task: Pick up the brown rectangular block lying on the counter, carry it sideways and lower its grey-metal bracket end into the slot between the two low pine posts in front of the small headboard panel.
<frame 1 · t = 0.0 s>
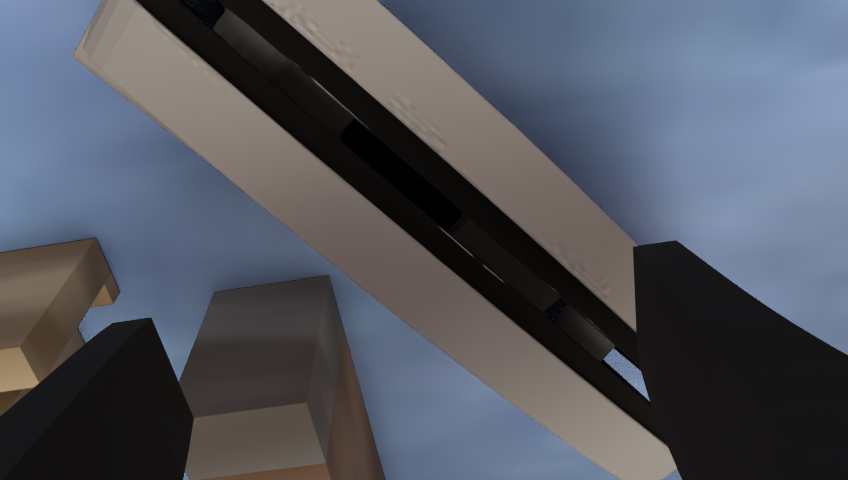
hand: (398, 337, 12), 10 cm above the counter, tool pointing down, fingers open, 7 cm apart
brown rectangular block: (332, 473, 27), on the counter
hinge: (417, 147, 22), on the counter
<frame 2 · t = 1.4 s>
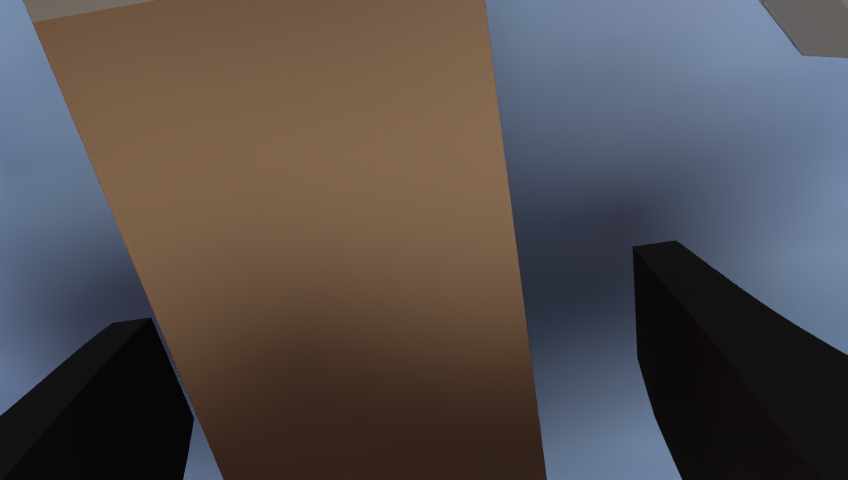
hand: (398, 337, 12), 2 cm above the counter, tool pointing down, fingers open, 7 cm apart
brown rectangular block: (404, 262, 14), on the counter
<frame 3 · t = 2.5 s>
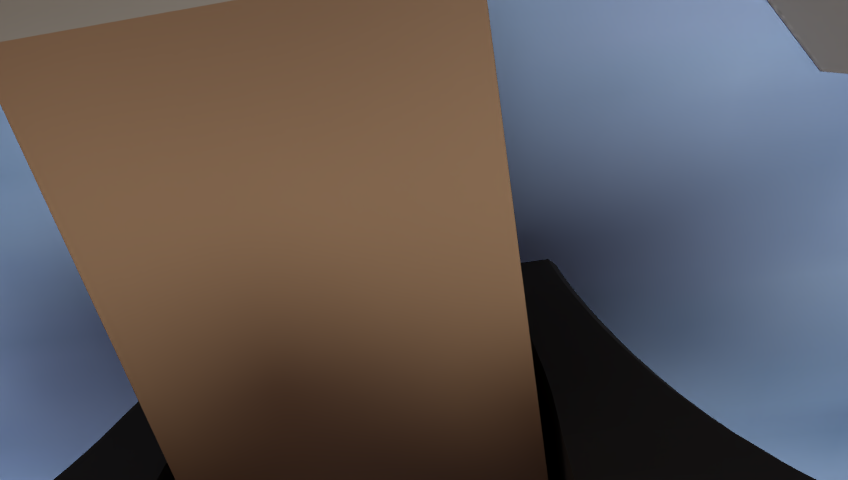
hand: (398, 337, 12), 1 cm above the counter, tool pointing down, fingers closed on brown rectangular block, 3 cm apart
brown rectangular block: (400, 284, 13), on the counter, touching gripper
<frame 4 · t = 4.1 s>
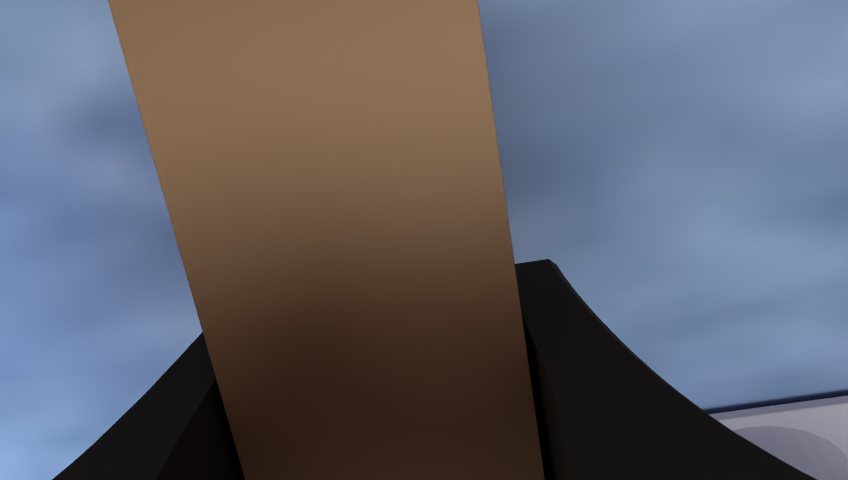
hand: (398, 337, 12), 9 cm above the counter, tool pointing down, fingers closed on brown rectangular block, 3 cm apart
brown rectangular block: (405, 259, 14), point 6 cm above the counter, tilted 11°, touching gripper
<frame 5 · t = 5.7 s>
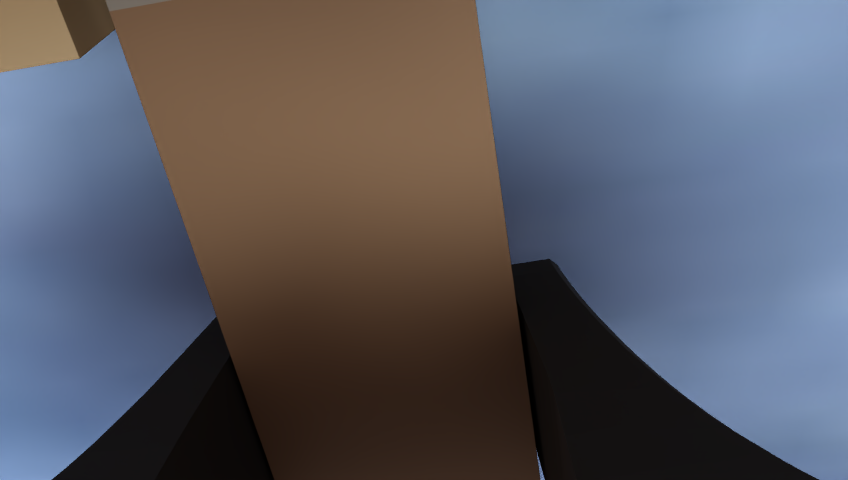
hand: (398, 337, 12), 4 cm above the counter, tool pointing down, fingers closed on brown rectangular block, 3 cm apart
brown rectangular block: (407, 247, 15), on the counter, touching gripper
when the fingers open (3 cm above the counter, at t = 6.6 s): brown rectangular block stays where it is, on the counter.
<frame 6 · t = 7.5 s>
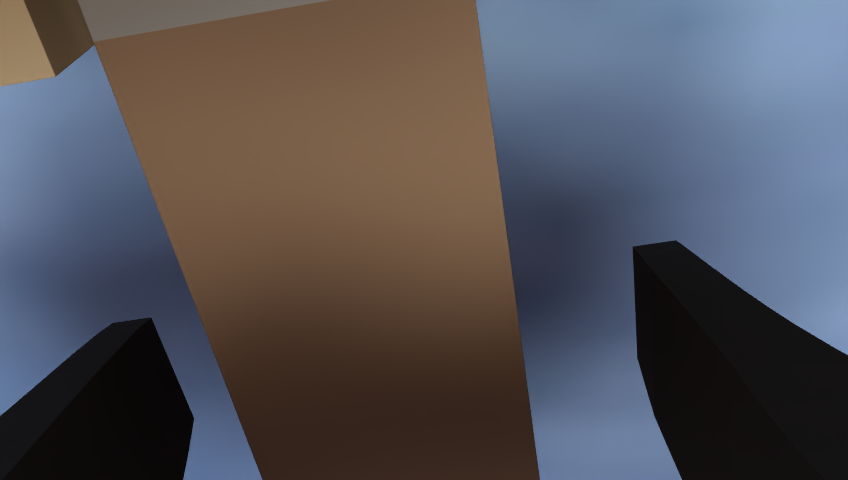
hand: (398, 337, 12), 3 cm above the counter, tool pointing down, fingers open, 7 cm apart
brown rectangular block: (406, 253, 15), on the counter
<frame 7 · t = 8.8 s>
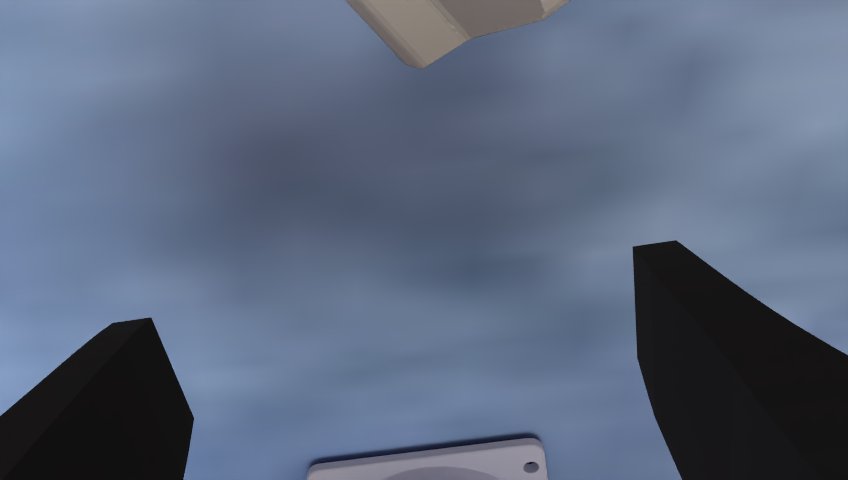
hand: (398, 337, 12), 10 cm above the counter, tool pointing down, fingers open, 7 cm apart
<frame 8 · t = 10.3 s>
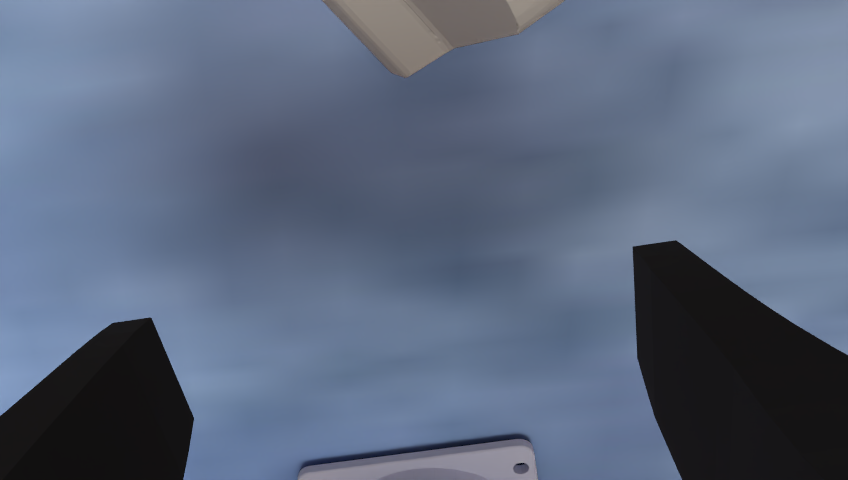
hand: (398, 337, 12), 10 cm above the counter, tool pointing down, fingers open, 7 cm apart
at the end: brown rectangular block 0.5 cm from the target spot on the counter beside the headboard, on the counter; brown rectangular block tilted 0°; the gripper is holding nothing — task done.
